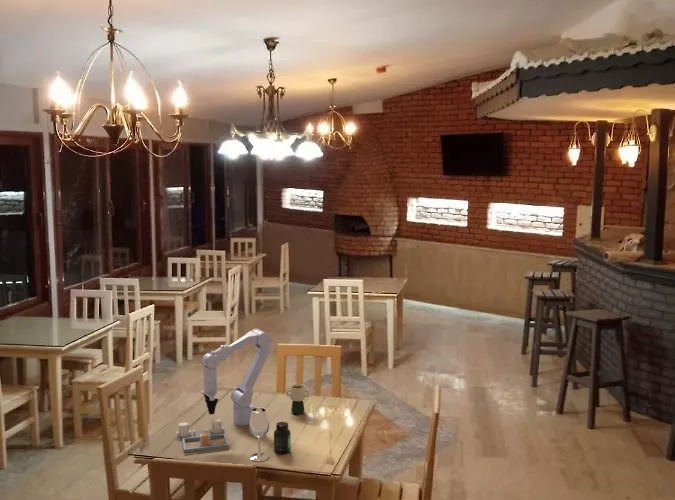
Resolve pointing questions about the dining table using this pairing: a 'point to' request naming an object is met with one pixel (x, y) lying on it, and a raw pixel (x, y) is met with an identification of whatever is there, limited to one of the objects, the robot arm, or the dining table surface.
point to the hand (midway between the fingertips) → (210, 410)
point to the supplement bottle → (282, 439)
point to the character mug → (297, 397)
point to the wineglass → (259, 430)
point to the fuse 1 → (183, 429)
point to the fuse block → (198, 433)
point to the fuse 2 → (216, 426)
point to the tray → (205, 446)
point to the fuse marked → (204, 439)
